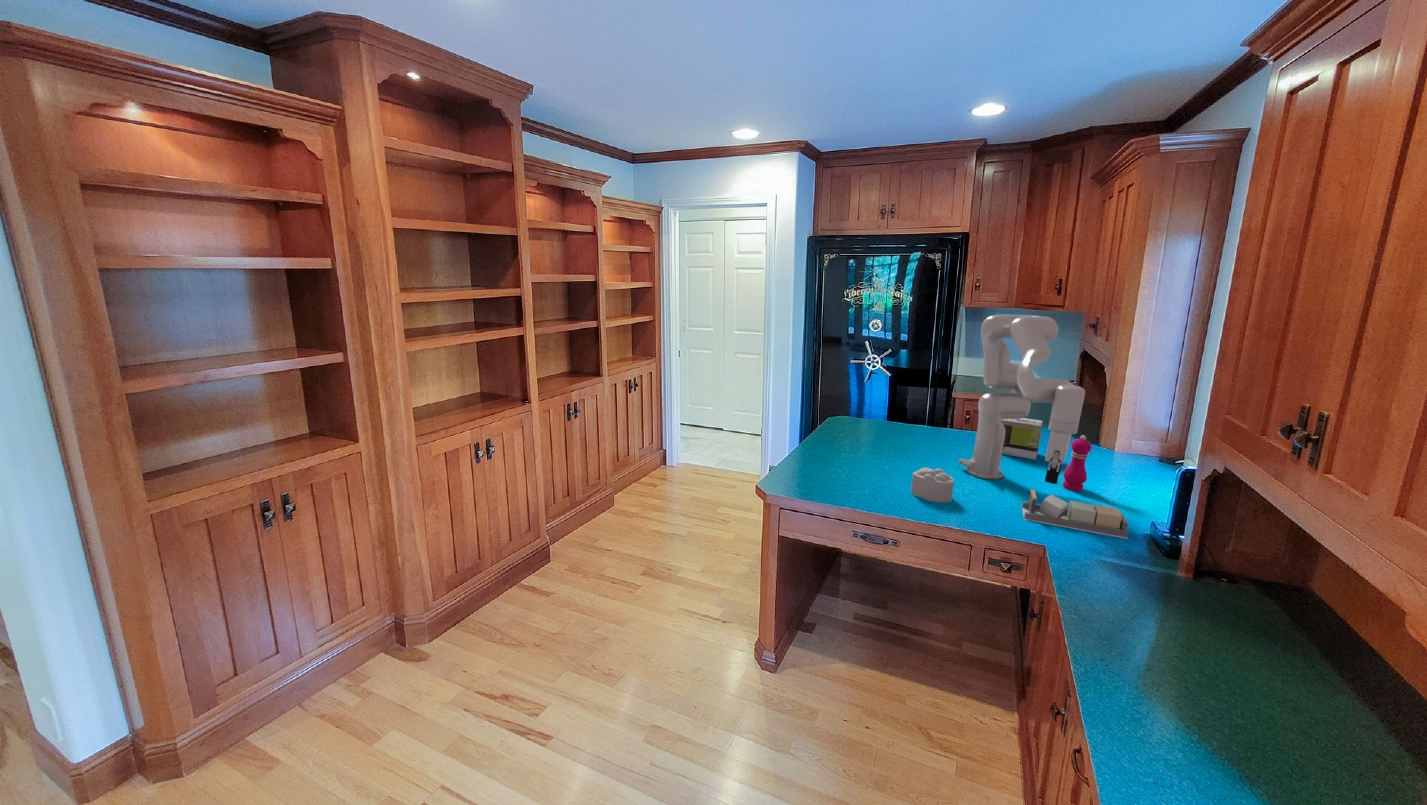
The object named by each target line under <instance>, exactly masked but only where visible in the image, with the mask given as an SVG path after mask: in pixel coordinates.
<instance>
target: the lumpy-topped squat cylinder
mask: <svg viewBox="0 0 1427 805" xmlns="http://www.w3.org/2000/svg"><path fill="white" fill-rule="evenodd" d="M911 479H912V480H911V486H910V493H911V494H912V495H913V496H916V497H918V498H920V499H923V500H925V501H929V502H934V501H935V502H934V503H950V502H952V500H953V499H952V498H953V492H954V485H955V480H954V478H953V477H952V476H951V475H949V474H948V473H945V470H943V469H941V468H936V469H933V468H930V467H923V468H920V469H919V470H916V471H914V472H912V478H911Z"/></svg>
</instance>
